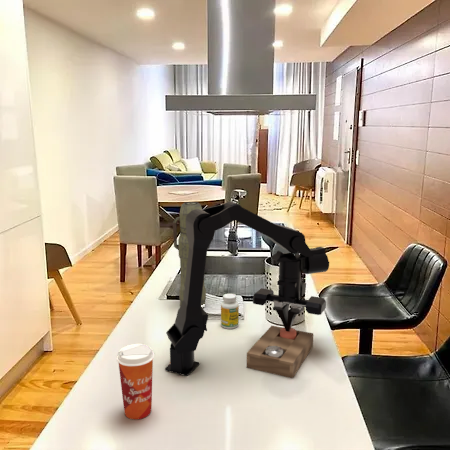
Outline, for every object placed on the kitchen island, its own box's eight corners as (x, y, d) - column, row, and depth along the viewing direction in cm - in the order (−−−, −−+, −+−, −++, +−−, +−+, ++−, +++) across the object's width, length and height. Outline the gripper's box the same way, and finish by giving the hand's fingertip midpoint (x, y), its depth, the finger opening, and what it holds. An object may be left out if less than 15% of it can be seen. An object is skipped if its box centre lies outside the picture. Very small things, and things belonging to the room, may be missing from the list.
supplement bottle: (229, 320, 147) (229, 291, 145) (242, 325, 143) (242, 295, 141) (217, 325, 143) (217, 295, 141) (229, 331, 139) (229, 300, 137)
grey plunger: (279, 367, 116) (279, 355, 115) (262, 363, 118) (262, 351, 117) (285, 359, 120) (285, 347, 119) (268, 356, 122) (269, 344, 121)
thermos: (175, 301, 162) (172, 201, 155) (209, 300, 163) (208, 200, 156) (174, 311, 154) (172, 205, 146) (210, 310, 155) (210, 205, 147)
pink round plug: (293, 346, 125) (293, 335, 125) (277, 343, 127) (277, 332, 127) (298, 340, 129) (298, 329, 129) (282, 336, 131) (283, 326, 130)
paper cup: (123, 426, 95) (120, 363, 92) (116, 406, 102) (113, 346, 99) (161, 417, 98) (159, 355, 95) (151, 398, 105) (149, 339, 102)
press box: (292, 378, 113) (293, 363, 112) (246, 367, 118) (246, 352, 118) (312, 347, 129) (313, 333, 128) (271, 338, 134) (271, 325, 133)
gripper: (332, 271, 127) (329, 325, 131) (267, 263, 135) (266, 314, 139) (321, 284, 118) (319, 342, 121) (252, 274, 126) (251, 328, 129)
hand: (288, 330), depth 128 cm, fingers closed, pressing on pink round plug
